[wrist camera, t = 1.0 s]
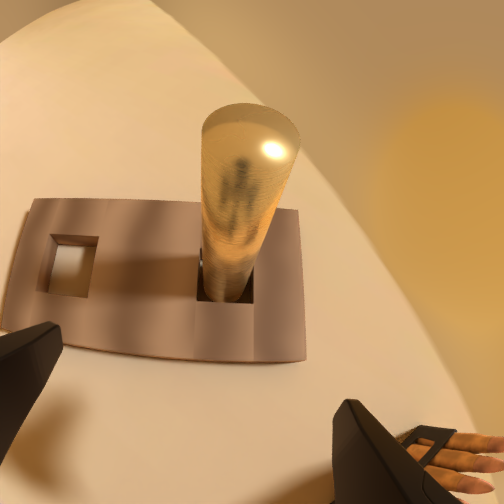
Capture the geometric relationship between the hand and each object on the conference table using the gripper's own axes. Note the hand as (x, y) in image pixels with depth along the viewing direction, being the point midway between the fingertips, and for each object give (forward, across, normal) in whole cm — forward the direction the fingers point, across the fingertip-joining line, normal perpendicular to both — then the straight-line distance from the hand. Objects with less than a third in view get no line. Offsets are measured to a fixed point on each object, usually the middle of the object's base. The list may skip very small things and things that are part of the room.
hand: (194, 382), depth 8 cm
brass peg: (+15, 0, +4) cm, 15 cm away
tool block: (+14, +6, +5) cm, 16 cm away
